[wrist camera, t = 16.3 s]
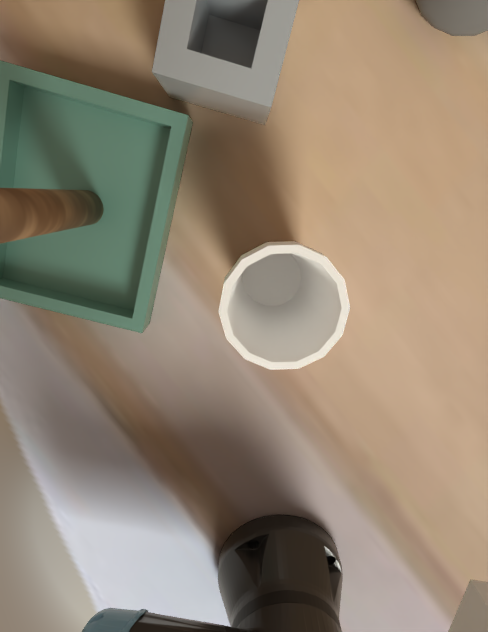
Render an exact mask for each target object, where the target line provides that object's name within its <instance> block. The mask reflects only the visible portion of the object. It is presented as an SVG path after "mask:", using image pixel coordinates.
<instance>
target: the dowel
mask: <svg viewBox="0 0 488 632" xmlns="http://www.w3.org/2000/svg"><path fill="white" fill-rule="evenodd" d="M103 210H104V208H103V203H102V201H101V199H100V198H99V196H98V195H96V194H95V193H94V192H92V191H89V190H65V189H27V188H0V244H1V243H5V242H10V241H15V240H20V239H25V238H29V237H34V236H39V235H44V234H48V233H53V232H58V231H63V230H68V229H72V228H77V227H82V226H87V225H92V224H95V223H97V222H98V221H99V220H100V219H101V217H102V215H103Z"/></svg>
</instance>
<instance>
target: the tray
mask: <svg viewBox="0 0 488 632" xmlns="http://www.w3.org/2000/svg"><path fill="white" fill-rule="evenodd" d="M192 124H193V122H192V120H191V119H190V117H189V115H186V114H182V113H179V112H176V111H172V110H169V109H165V108H162V107H158V106H155V105H152V104H148V103H145V102H141V101H138V100H134V99H131V98H128V97H124V96H121V95H117V94H114V93H110V92H107V91H103V90H100V89H97V88H93V87H90V86H86V85H83V84H79V83H76V82H73V81H69V80H66V79H62V78H59V77H55V76H52V75H49V74H45V73H42V72H38V71H35V70H31V69H28V68H25V67H21V66H18V65H14V64H11V63H7V62H4V61H1V60H0V188H27V189H65V190H89V191H92V192H94V193H95V194H96V195H98V196H99V198H100V199H101V201H102V203H103V208H104V210H103V215H102V217H101V219H100V220H99V221H98V222H97V223H95V224H92V225H87V226H82V227H77V228H72V229H68V230H63V231H58V232H53V233H48V234H44V235H39V236H34V237H29V238H25V239H20V240H15V241H10V242H5V243H1V244H0V298H2V299H6V300H10V301H14V302H18V303H22V304H26V305H30V306H34V307H38V308H42V309H46V310H50V311H54V312H58V313H62V314H67V315H71V316H75V317H79V318H83V319H87V320H91V321H95V322H99V323H103V324H107V325H111V326H115V327H119V328H123V329H127V330H131V331H135V332H139V333H143V331H144V330H145V329H146V327H147V326H148V324H149V323H150V319H151V314H152V310H153V305H154V300H155V296H156V291H157V287H158V282H159V277H160V273H161V268H162V263H163V259H164V254H165V249H166V245H167V240H168V236H169V231H170V226H171V222H172V217H173V212H174V208H175V203H176V198H177V194H178V189H179V185H180V180H181V175H182V171H183V166H184V161H185V157H186V152H187V147H188V143H189V138H190V134H191V129H192Z"/></svg>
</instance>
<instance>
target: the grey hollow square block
mask: <svg viewBox="0 0 488 632" xmlns="http://www.w3.org/2000/svg"><path fill="white" fill-rule="evenodd" d="M298 2H299V0H165V4H164V10H163V15H162V20H161V26H160V31H159V37H158V42H157V47H156V53H155V58H154V63H153V69H152V73H153V74H154V76H155V77H156V78H157V80H158V81H159V83H160V84H161V85H162V87H163V88H164V90H165V91H166V92H167V94H168V95H169V97H171V98H174V99H178V100H181V101H185V102H188V103H191V104H195V105H198V106H202V107H205V108H208V109H212V110H215V111H219V112H222V113H225V114H229V115H232V116H236V117H239V118H243V119H246V120H249V121H253V122H256V123H260V124H263V125H265V124H266V121H267V118H268V115H269V112H270V109H271V106H272V102H273V98H274V95H275V91H276V87H277V83H278V79H279V75H280V72H281V68H282V64H283V60H284V56H285V52H286V49H287V45H288V41H289V37H290V33H291V29H292V25H293V22H294V18H295V14H296V10H297V6H298Z"/></svg>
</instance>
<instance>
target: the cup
mask: <svg viewBox="0 0 488 632" xmlns="http://www.w3.org/2000/svg"><path fill="white" fill-rule="evenodd" d="M416 2H417V5H418V8H419V10H420V13H421V15H422V16H423V17H424V18H425V19H426V20H427V21H428V23H429V24H430V25H431V26H433V27H434V28H436V29H438V30H441V31H443V32H445V33H447V34H450V35H452V36H474V35H477V34H480V33H482V32H485V31H487V30H488V0H416Z"/></svg>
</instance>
